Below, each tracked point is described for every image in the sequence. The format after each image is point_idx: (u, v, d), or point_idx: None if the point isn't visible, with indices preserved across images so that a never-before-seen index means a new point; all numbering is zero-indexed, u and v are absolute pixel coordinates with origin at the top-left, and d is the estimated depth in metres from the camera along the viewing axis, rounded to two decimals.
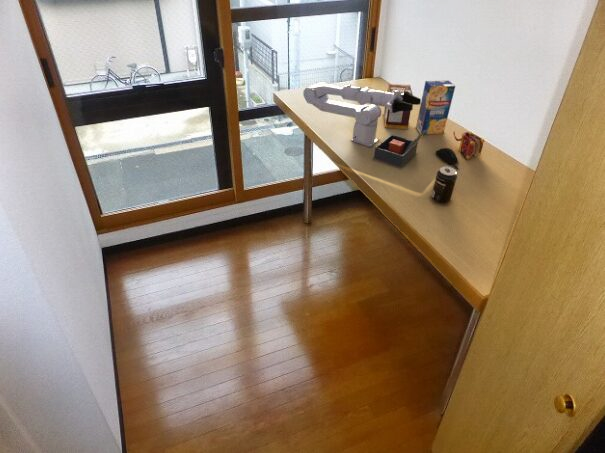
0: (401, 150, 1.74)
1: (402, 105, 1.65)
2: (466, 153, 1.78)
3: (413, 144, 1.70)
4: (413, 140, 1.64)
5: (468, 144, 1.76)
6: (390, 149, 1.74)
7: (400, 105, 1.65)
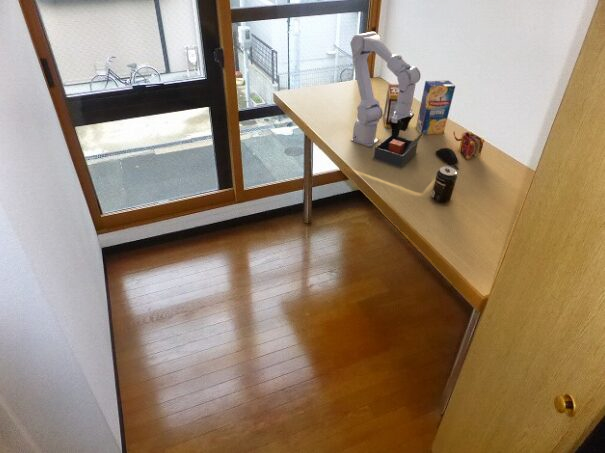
0: (401, 150, 1.74)
1: (396, 128, 1.65)
2: (466, 153, 1.78)
3: (413, 144, 1.70)
4: (413, 140, 1.64)
5: (468, 144, 1.76)
6: (390, 149, 1.74)
7: (396, 126, 1.65)
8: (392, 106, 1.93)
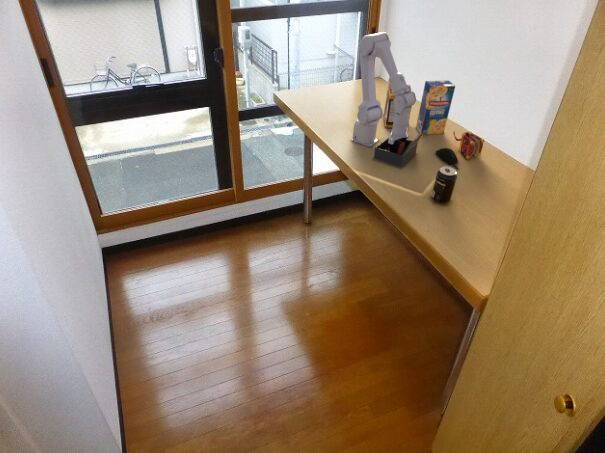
0: (401, 150, 1.74)
1: (394, 147, 1.72)
2: (466, 153, 1.78)
3: (413, 144, 1.70)
4: (413, 140, 1.64)
5: (468, 144, 1.76)
6: None
7: (394, 145, 1.71)
8: (392, 106, 1.93)
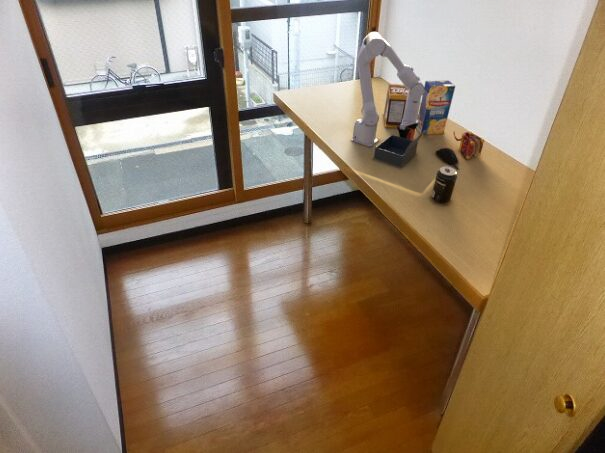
0: (412, 137, 1.84)
1: (404, 134, 1.82)
2: (466, 153, 1.78)
3: (413, 144, 1.70)
4: (413, 140, 1.64)
5: (468, 144, 1.76)
6: None
7: (404, 132, 1.81)
8: (392, 106, 1.93)
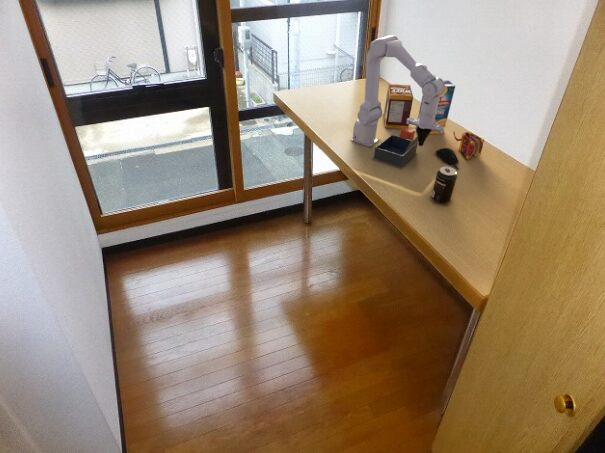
0: (412, 137, 1.84)
1: None
2: (466, 153, 1.78)
3: (413, 144, 1.70)
4: (413, 140, 1.64)
5: (468, 144, 1.76)
6: (401, 136, 1.85)
7: None
8: (392, 106, 1.93)
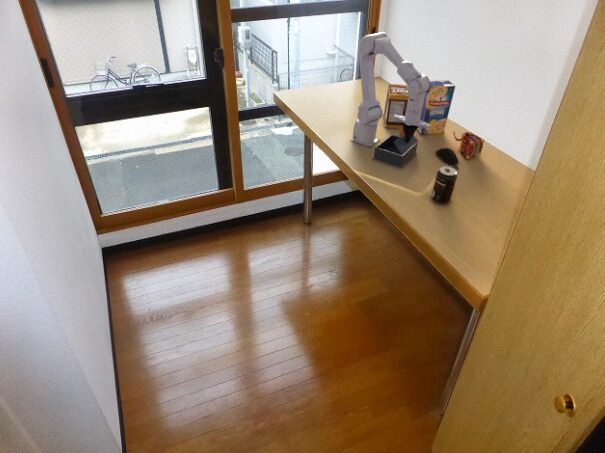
0: None
1: None
2: (466, 153, 1.78)
3: (408, 143, 1.71)
4: (397, 140, 1.68)
5: (468, 144, 1.76)
6: None
7: None
8: (392, 106, 1.93)
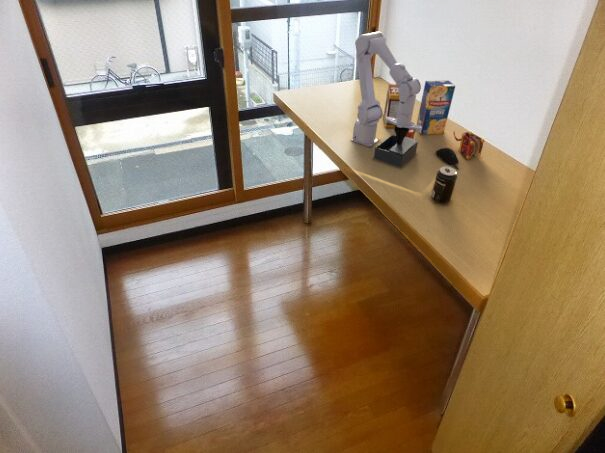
0: (412, 137, 1.84)
1: None
2: (466, 153, 1.78)
3: (406, 145, 1.72)
4: (392, 147, 1.71)
5: (468, 144, 1.76)
6: None
7: None
8: (392, 106, 1.93)
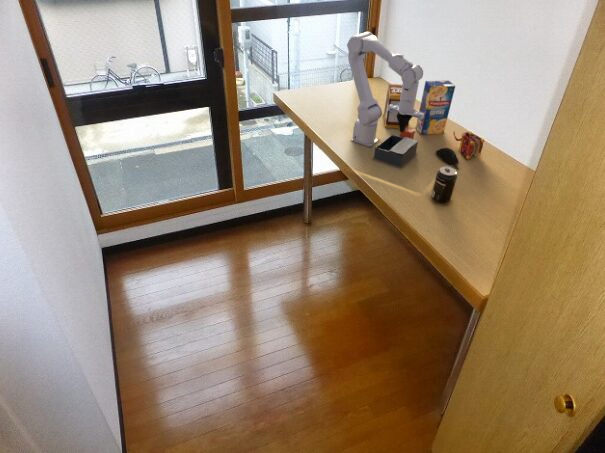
0: (412, 137, 1.84)
1: None
2: (466, 153, 1.78)
3: (406, 146, 1.72)
4: None
5: (468, 144, 1.76)
6: (401, 136, 1.85)
7: None
8: None
